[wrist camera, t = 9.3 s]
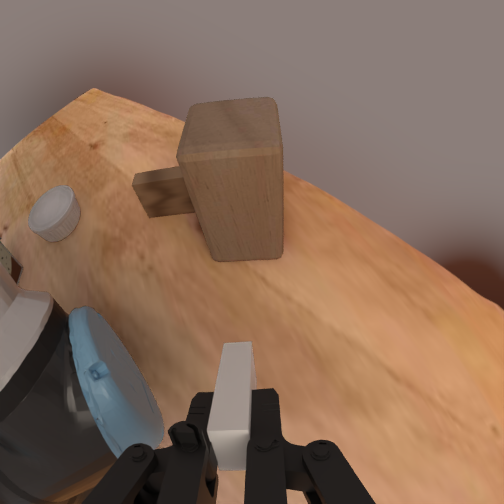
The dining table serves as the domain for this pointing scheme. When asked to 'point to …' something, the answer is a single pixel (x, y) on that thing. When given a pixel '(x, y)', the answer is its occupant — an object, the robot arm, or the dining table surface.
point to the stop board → (163, 192)
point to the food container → (10, 263)
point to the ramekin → (55, 214)
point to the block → (235, 176)
